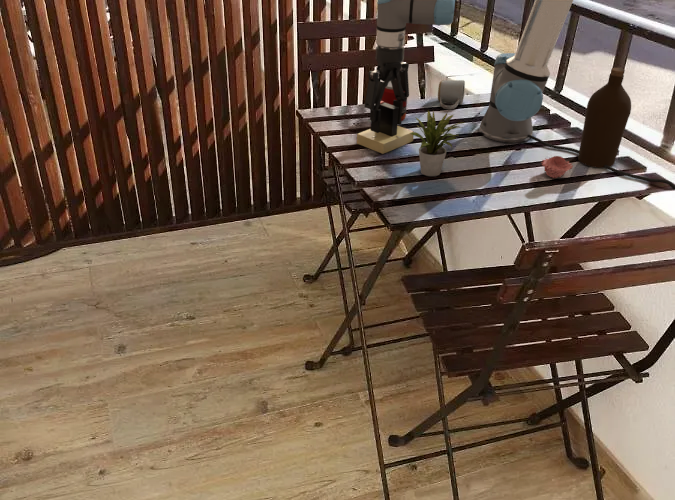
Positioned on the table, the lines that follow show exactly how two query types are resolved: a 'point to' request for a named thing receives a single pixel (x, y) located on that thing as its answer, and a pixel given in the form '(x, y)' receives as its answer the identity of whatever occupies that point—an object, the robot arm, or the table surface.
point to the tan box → (384, 140)
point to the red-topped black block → (388, 119)
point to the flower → (556, 166)
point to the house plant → (434, 144)
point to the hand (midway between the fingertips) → (385, 127)
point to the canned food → (390, 96)
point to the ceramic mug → (451, 93)
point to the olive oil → (605, 122)
